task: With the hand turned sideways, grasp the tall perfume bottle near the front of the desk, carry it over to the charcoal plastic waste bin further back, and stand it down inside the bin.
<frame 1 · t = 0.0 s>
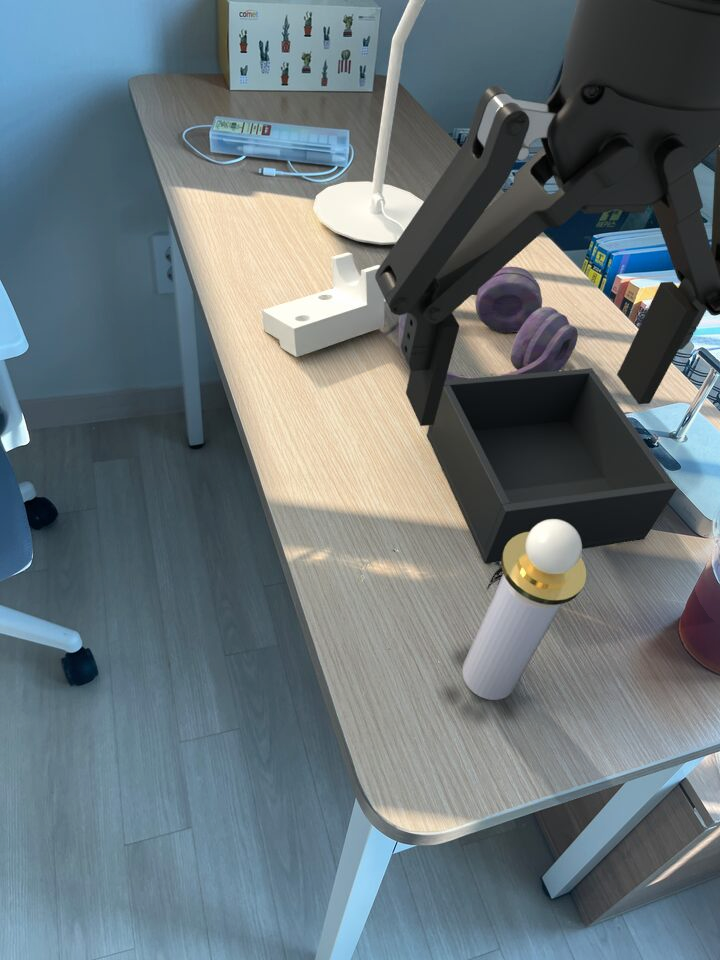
hand: (530, 399, 43), 29 cm above the table, tool pointing down, fingers open, 13 cm apart
bin: (530, 485, 79), on the table
desk lamp: (387, 247, 109), on the table, touching bracket
headphones: (474, 354, 94), on the table
bracket: (320, 329, 94), on the table, touching desk lamp
perfume bottle: (486, 679, 63), on the table
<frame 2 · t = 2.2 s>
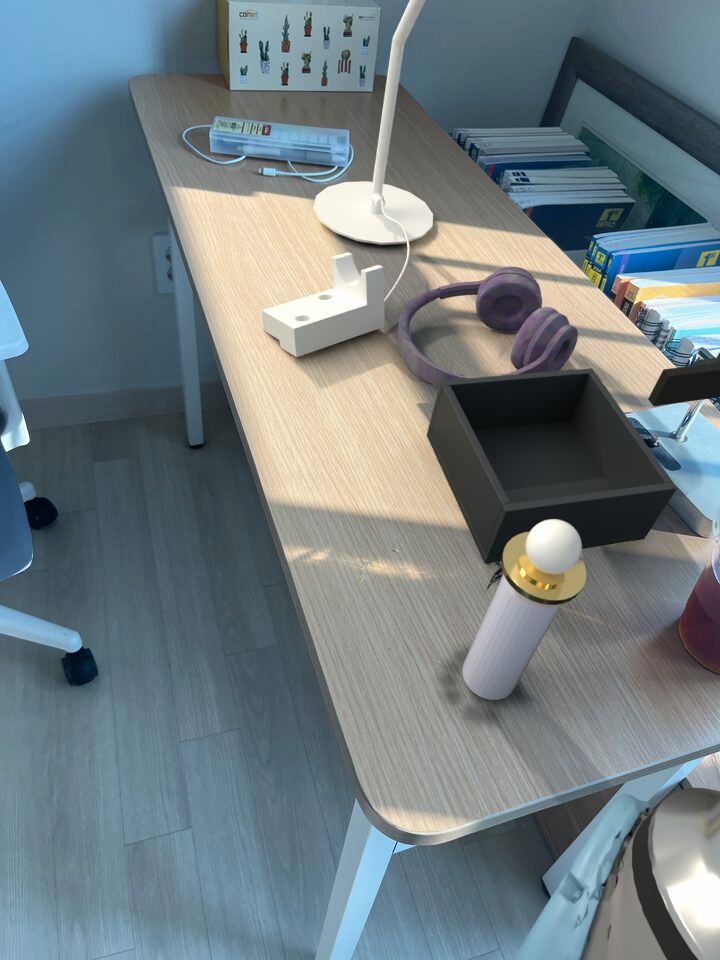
hand: (714, 460, 47), 25 cm above the table, tool horizontal, fingers open, 13 cm apart
nothing on the table moved.
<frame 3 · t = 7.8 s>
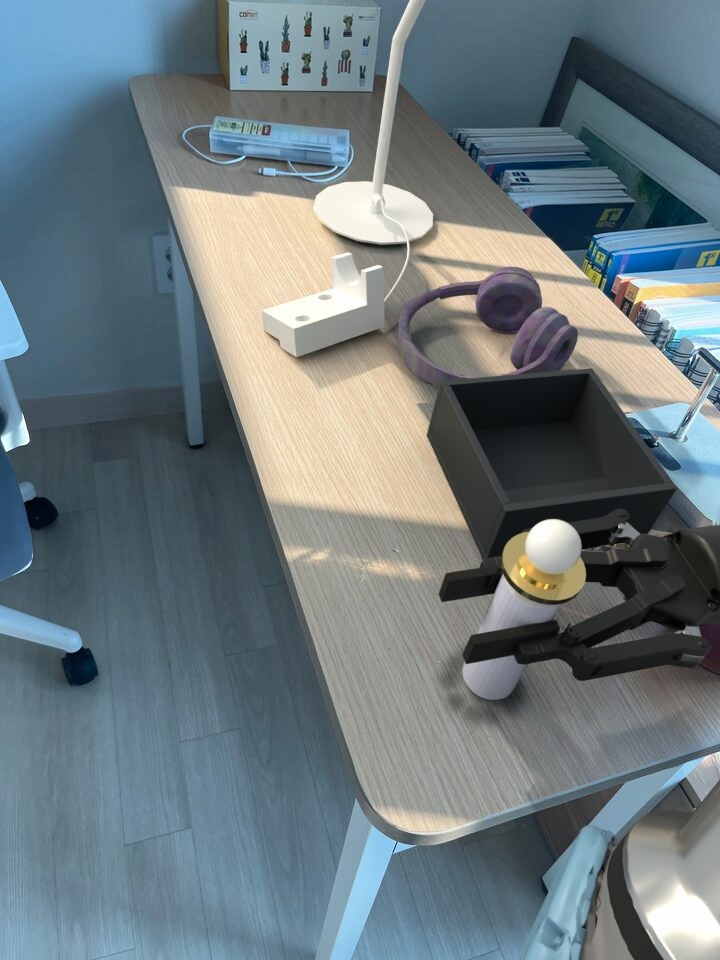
hand: (456, 617, 54), 11 cm above the table, tool horizontal, fingers closed on perfume bottle, 4 cm apart
perfume bottle: (486, 679, 63), on the table, touching gripper
everything else where it was.
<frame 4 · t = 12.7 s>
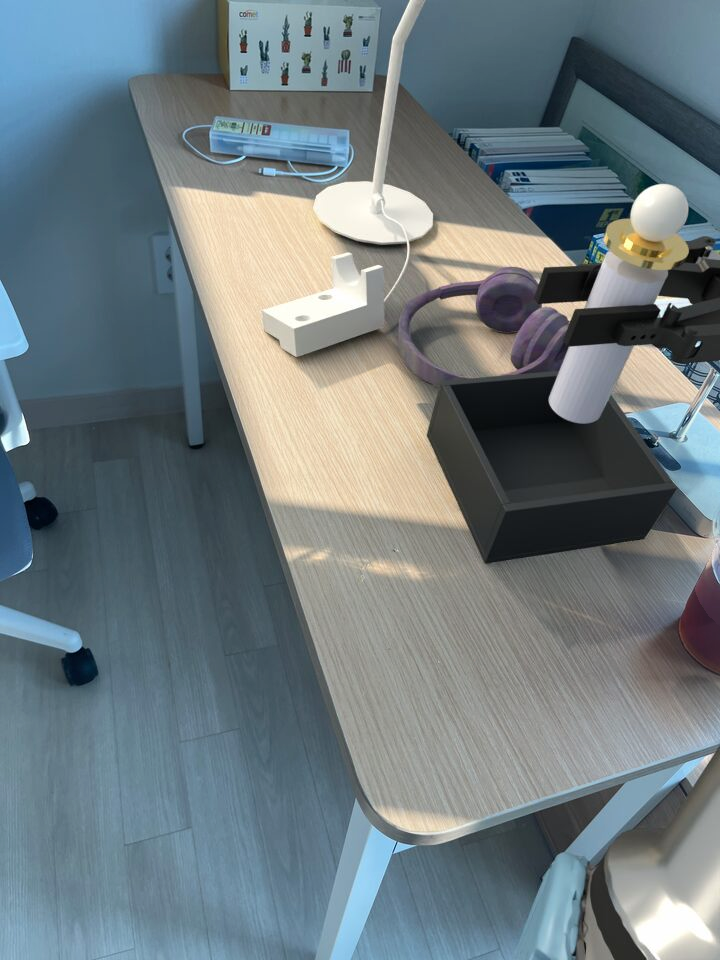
hand: (556, 306, 55), 26 cm above the table, tool horizontal, fingers closed on perfume bottle, 4 cm apart
perfume bottle: (571, 413, 64), point 15 cm above the table, touching gripper
everything else where it was.
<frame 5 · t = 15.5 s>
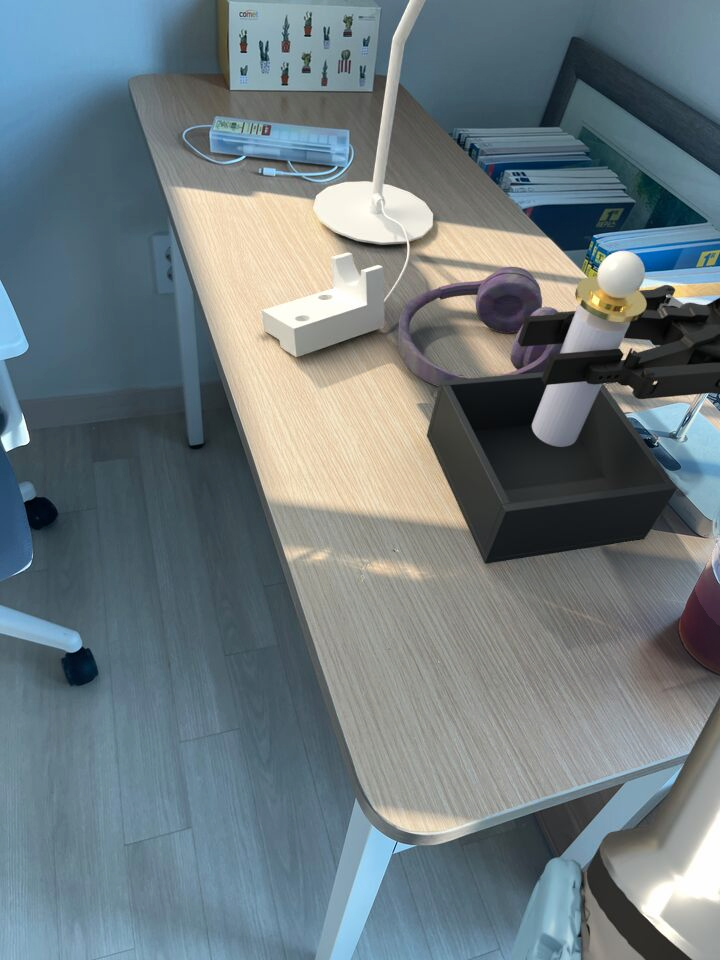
hand: (535, 350, 65), 18 cm above the table, tool horizontal, fingers closed on perfume bottle, 4 cm apart
perfume bottle: (551, 437, 74), point 7 cm above the table, touching gripper
everything else where it was.
when the fingers open (12 cm above the table, at t = 17.6 s): perfume bottle stays where it is, resting on bin.
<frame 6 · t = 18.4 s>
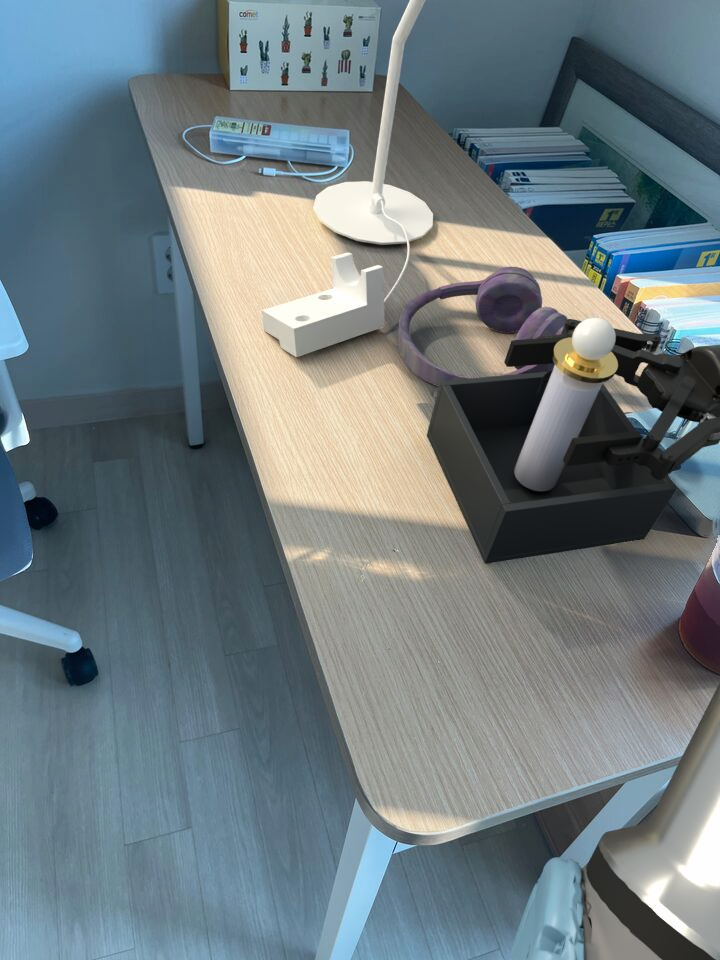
hand: (536, 400, 69), 12 cm above the table, tool horizontal, fingers open, 13 cm apart
perfume bottle: (533, 481, 79), point 1 cm above the table, touching bin
everything else where it was.
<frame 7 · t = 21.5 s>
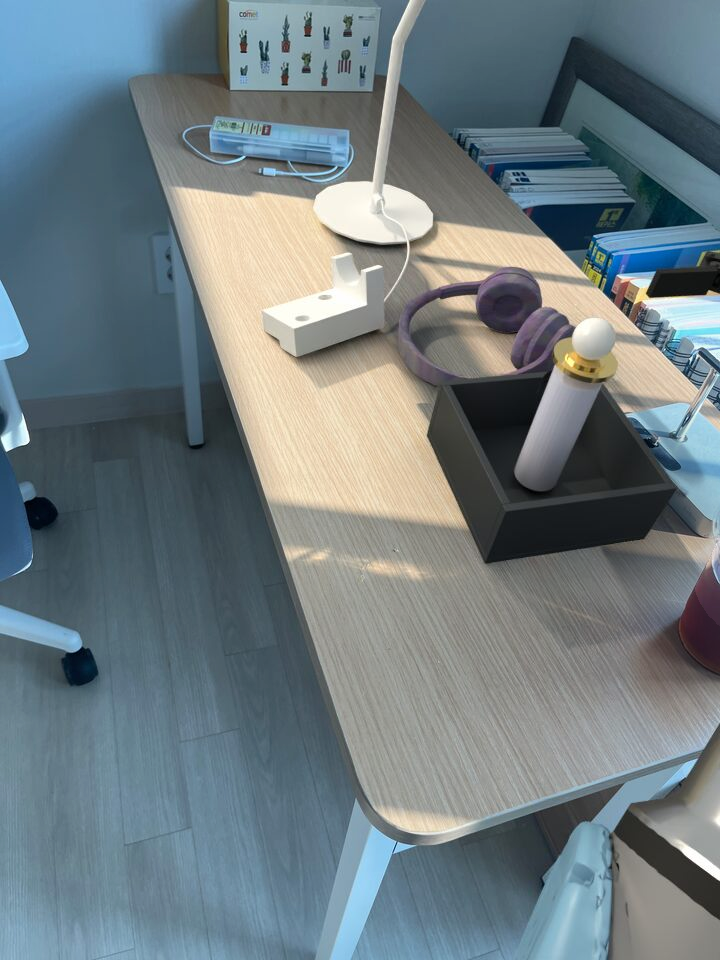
hand: (691, 326, 67), 20 cm above the table, tool horizontal, fingers open, 13 cm apart
nothing on the table moved.
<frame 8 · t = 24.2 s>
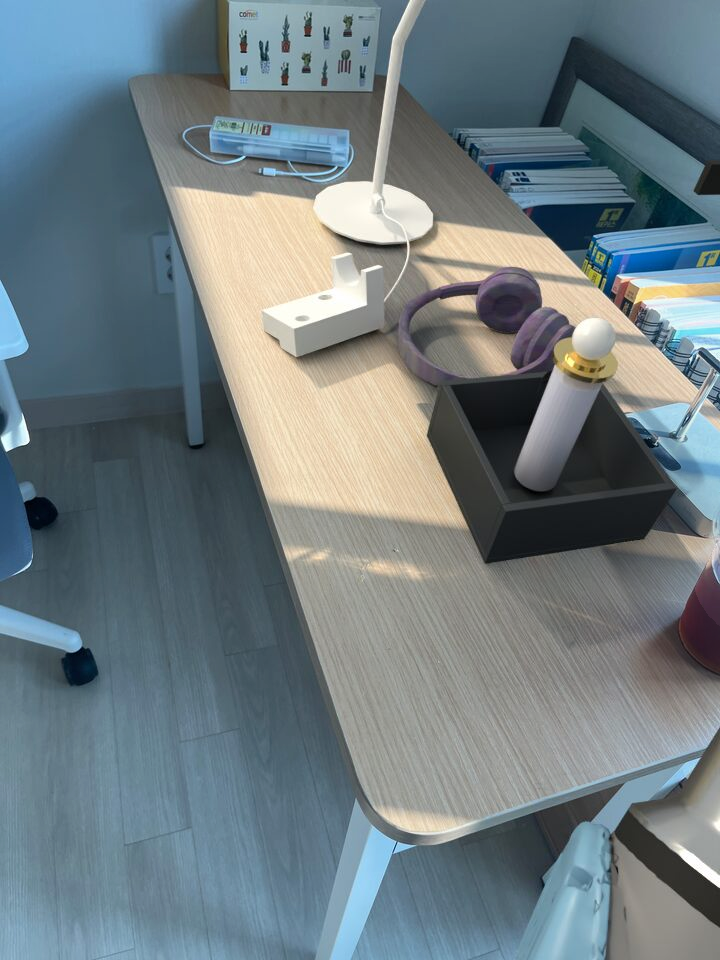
nothing on the table moved.
at the end: perfume bottle inside the target area in the bin (0.1 cm from its centre), point 0.6 cm above the bin's base; the gripper is holding nothing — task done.
